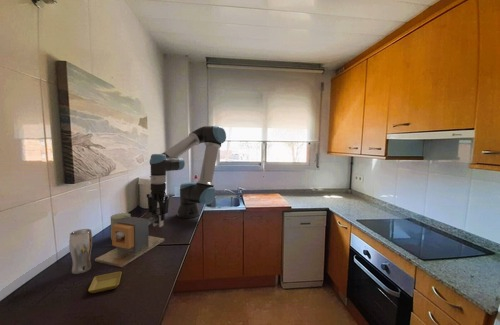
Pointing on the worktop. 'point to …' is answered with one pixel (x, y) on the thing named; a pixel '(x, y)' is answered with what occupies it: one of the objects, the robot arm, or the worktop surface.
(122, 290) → the worktop surface
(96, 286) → the saucer
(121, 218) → the can
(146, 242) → the block
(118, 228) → the strip
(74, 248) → the beer glass
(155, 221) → the shaft
